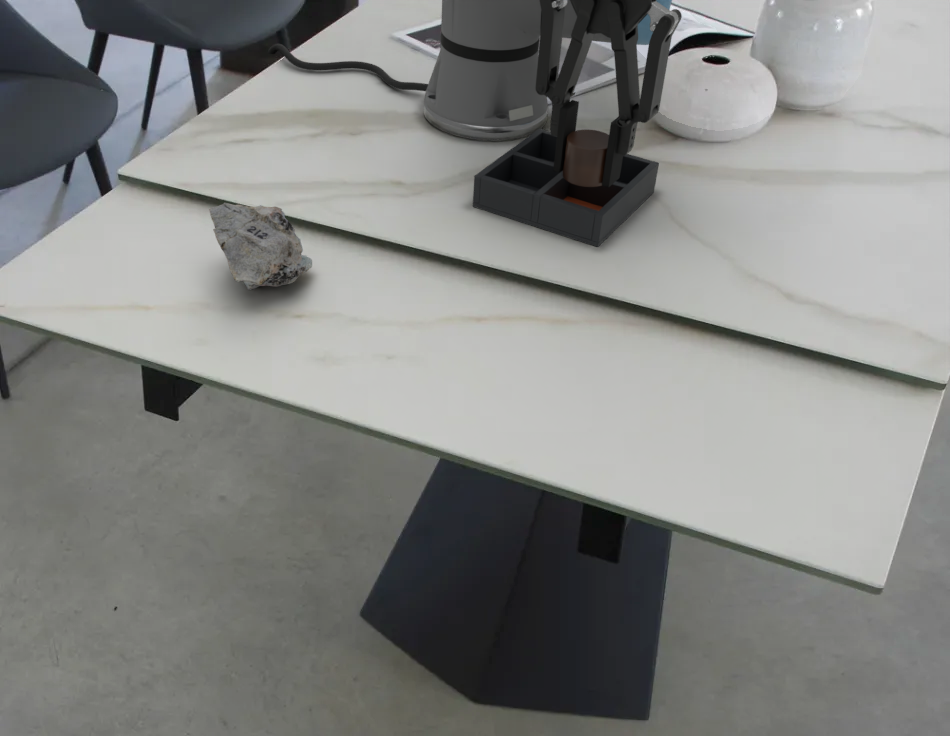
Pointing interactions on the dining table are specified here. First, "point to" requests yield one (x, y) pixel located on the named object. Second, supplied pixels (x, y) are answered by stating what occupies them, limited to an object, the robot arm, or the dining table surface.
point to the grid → (560, 192)
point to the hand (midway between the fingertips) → (586, 173)
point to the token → (585, 157)
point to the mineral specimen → (259, 245)
